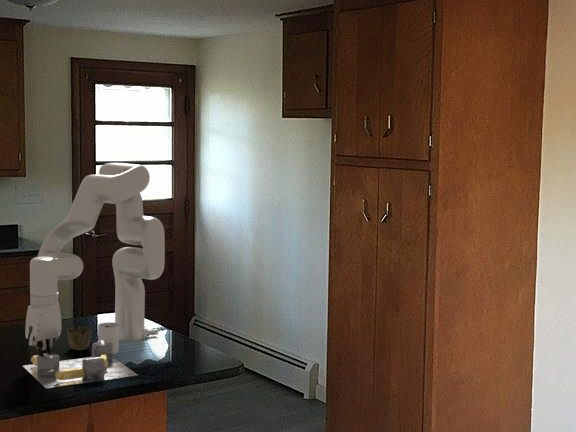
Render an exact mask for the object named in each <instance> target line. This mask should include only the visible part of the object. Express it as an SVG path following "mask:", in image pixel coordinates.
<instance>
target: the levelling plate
mask: <svg viewBox="0 0 576 432" xmlns="http://www.w3.org/2000/svg"><path fill="white" fill-rule="evenodd" d="M86 358H92V356H90V357H83V358H75V359H66V360H59V370H67V369H74V368H82V360H83V359H86ZM22 367H23V368H24V369H25V371H27V372H29V374H30V375H32V377H33V378H34V379H36V381H38V383H39V384H40V385H42V386H43V387H44V388H45V389H51V388H52V389H53V388H58V387H64V386H65V387H66V386H73V385H80V384H86V383H94V382H96V381H85V380H83V379H82V378H75V379H68V380H61V381H60V380H58V379H56V377H52V378H41V377H38V376H37V366H35V365H34V364H33V363H32V364H25V365H22ZM136 376H138V374H137V373H136V372H135V371H133V370H132V369H130V368H129V367H127V366H126V365H124V364H123V363H122V362H120V361H119V360H117V359H116V358H114V357H113V361H112V362H109V363H108V365H107V367H105V372H104V379H103V380H100V381H107V380H116V379H121V378H128V377H136ZM100 381H99V382H100Z"/></svg>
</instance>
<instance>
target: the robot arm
mask: <svg viewBox="0 0 576 432" xmlns="http://www.w3.org/2000/svg"><path fill="white" fill-rule="evenodd" d="M150 177H151V176H150V172H149V170H148V168H147V167H145V166H144V165H143V164H136V163H135V164H134V163H125V162H109V163H108V162H107V163H104V164H102V165H101V166H100V168H99V171H98V174H96V173H95V174H89V175H86V176H85V177H83V179H82V180H81V182H80V185H79V187H78V190H77V193H76V195H75V197H74V200H73V201H72V205H71V206H70V209H69V212H68V214H67V216H66V217H65V218H64V219H63V220H62V221H60V222H59V223H58V224H57V225H56V226H54V228H53V229H52V230H51V231H50V232H49V233H48V234H47V235H46V236H45V238H44V240H43V242H42V244H41V246H40V249H39V251H38V254H37V256H35V257H33V258H31V260H30V262H29V290H30V291H29V292H30V294H29V295H30V296H29V297H30V299H29V300H30V301H29V302H30V305H28V307H27V311H26V317H25V331H24V332H25V334H24V335H25V339H27V340H28V345H29V346H32V347H36V349H38V356H40V355H44V353H47V354H52V352H51V351H52V349H53V347H54V343H55V341H57V340H58V339H60V337H61V334H62V314H61V313H62V312H61V308H60V307H61V305H60V303H59V299H58V298H59V297H60V294H59V291H58V290H59V289H58V281H71V280H74V279H77V278H78V277H80V276H81V274H82V272H83V271H84V262H83V260H82V259H81V257H80V256H78V255H76V254H73V253H66V252H61V250H62V249H63V247H64V246H65V245H66V243H68V242H70V241H71V240H72V239H73V238H75V237H77V236H80V235H82V234H85V233H87V232H90V231H91V230H93V229H94V228H95V226H96V223H97V221H98V219H99V216H100V214H101V211H102V208H103V206H104V204H114V205H115V209H116V210H115V211H116V212H115V213H116V215H115V216H116V235H117V239H118V240H119V241H120V242H122V243H124V244H129V245H137V246H142V248H140V247H130V246H126V247H125V246H124V247H121V248H119V249H118V250H116V251H115V252H114V254H113V256H112V265H111V266H112V269H113V276H114V286H115V293H114V294H115V297H114V298H115V300H114V301H115V303H114V307H115V308H114V323H118V324H120V327H119V342H125V343H132V342H133V343H134V342H140V341H142V340H146V339H148V337H150V336H157V335H158V334H159V329H157V328H146V327H145V309H146V308H145V307H146V306H145V302H146V301H145V300H146V299H145V297H146V289H145V285H144V282H143V280H142V279H144V280H150V281H151V280H152V281H153V280H157V279H159V278H160V277H161V276H162V274H163V273H164V269H165V263H166V262H165V260H166V259H165V257H166V256H165V250H166V248H165V246H166V245H165V242H166V241H165V239H166V238H165V229H164V225H163V223H162V222H161V220H160V219H158V218H157V217H154V216H150V215H149V216H148V215H144V208H143V207H144V206H143V205H144V204H143V197H142V195H141V193H142V192H143V191H144V190H145V189H146V188H147V187H148V186H149V182H150Z"/></svg>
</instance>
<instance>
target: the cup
mask: <svg viewBox="0 0 576 432" xmlns="http://www.w3.org/2000/svg"><path fill="white" fill-rule="evenodd" d="M66 332H67V342H68V346H69V347H70V349H71V350H74V351H77V352H79V351H85V350H86V349H87V348H88V347H89V345H90V344H91V338H92V337H91V336H92V328H91V327H90V326H89V327H87V326H85V325H83V326H80V325H79V326H78V328H75V327H74V326H72V327H68V329H66Z"/></svg>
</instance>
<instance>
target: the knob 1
mask: <svg viewBox="0 0 576 432" xmlns="http://www.w3.org/2000/svg"><path fill="white" fill-rule="evenodd" d="M30 361H31V363H32V365H33V364H34V365H35V366H37V376H38V377H41V378H52V377H55V374H56V373H57V372H59V361H60V355H58V354H53V353H51V354H47V353H44V355H40V356H39V354H36V355H33V356H32V357H31V359H30Z"/></svg>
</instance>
